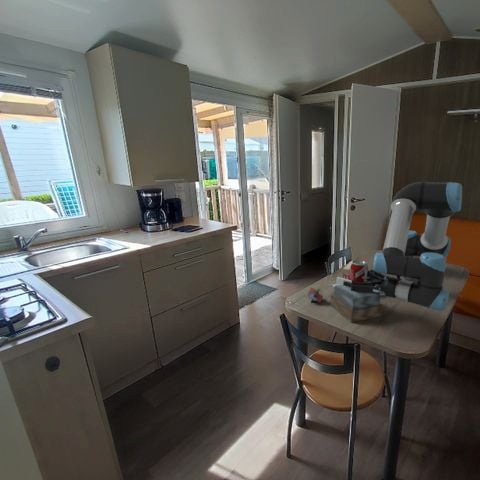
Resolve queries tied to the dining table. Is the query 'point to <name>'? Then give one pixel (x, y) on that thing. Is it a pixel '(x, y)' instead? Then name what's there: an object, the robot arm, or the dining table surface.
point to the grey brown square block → (356, 304)
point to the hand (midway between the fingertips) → (344, 274)
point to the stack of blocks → (347, 271)
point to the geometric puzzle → (315, 295)
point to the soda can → (358, 271)
